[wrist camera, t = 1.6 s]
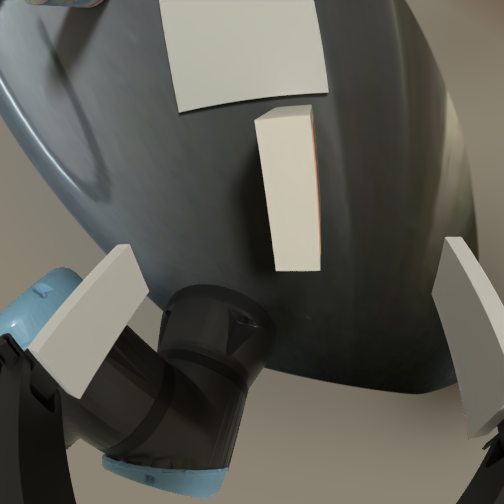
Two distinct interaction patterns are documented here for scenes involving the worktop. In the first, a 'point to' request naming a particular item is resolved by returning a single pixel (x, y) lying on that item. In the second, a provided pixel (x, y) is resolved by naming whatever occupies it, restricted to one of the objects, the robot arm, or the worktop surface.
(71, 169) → the worktop surface
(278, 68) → the mat
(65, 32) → the worktop surface
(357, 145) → the worktop surface
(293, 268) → the cream rectangular block
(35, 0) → the pill bottle
